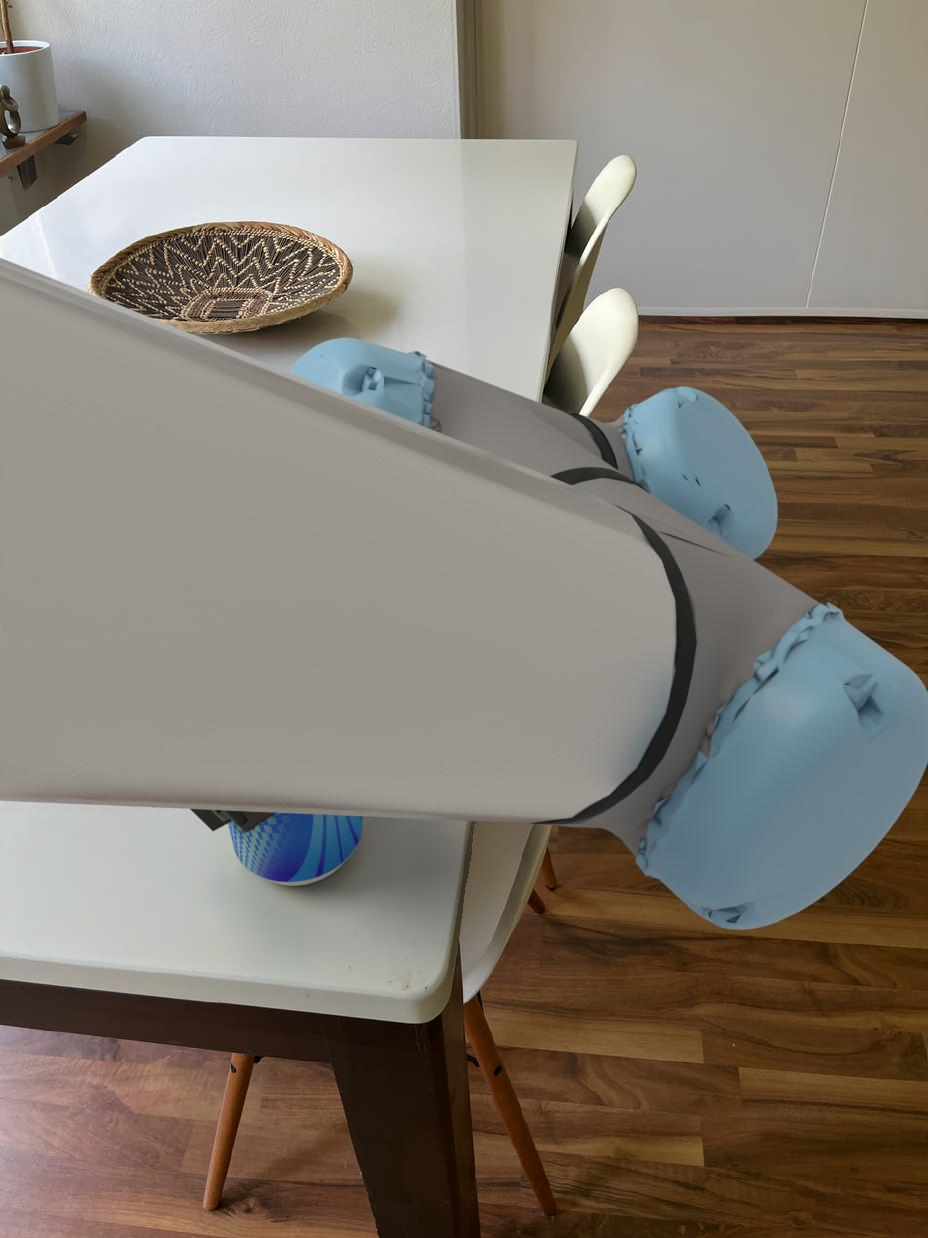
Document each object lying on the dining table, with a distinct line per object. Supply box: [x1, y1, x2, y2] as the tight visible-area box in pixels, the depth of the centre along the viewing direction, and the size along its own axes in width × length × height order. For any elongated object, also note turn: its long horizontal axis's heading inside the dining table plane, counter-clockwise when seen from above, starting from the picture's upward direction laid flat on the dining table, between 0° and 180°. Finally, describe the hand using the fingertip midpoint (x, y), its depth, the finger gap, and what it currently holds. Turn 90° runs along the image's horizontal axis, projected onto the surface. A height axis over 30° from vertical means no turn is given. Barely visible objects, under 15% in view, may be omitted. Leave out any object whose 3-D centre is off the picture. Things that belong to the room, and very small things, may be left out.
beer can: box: [227, 813, 364, 887], centre depth 60 cm, size 8×8×16 cm
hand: (244, 761), depth 62 cm, fingers closed on beer can, 8 cm apart
